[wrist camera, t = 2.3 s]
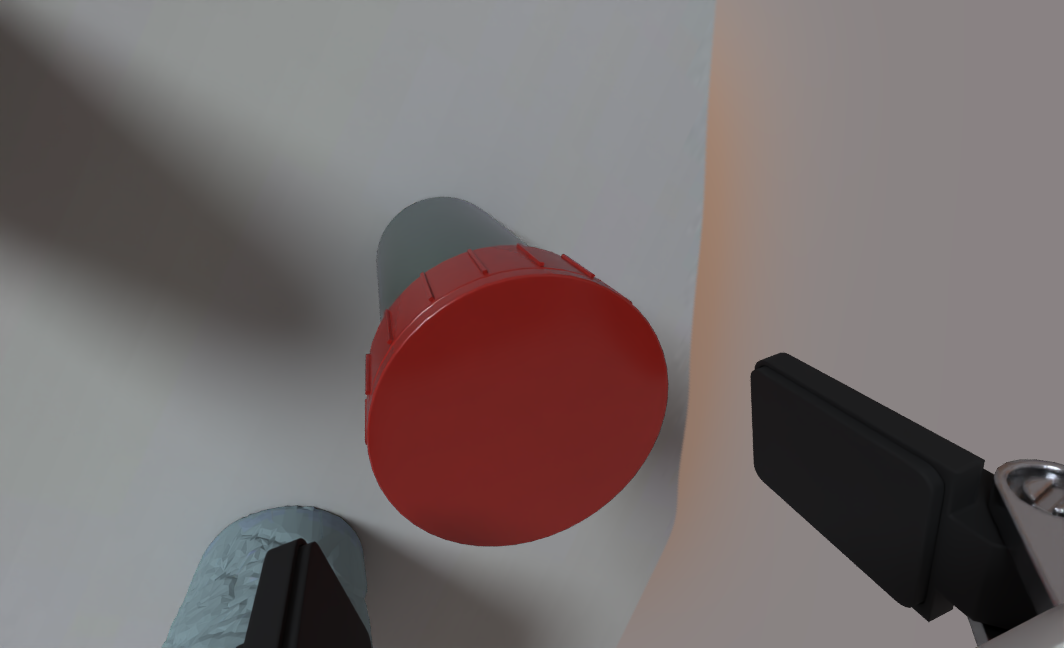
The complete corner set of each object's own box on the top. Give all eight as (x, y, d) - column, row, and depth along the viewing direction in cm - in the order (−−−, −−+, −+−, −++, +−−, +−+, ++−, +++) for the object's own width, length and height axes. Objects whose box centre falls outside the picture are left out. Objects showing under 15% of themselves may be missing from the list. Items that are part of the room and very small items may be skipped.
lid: (304, 328, 12) (289, 380, 10) (574, 193, 13) (623, 211, 11) (442, 519, 16) (456, 595, 13) (649, 404, 16) (699, 455, 14)
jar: (349, 234, 23) (328, 372, 11) (475, 173, 24) (597, 235, 11) (416, 345, 26) (462, 557, 14) (526, 288, 27) (669, 440, 14)
